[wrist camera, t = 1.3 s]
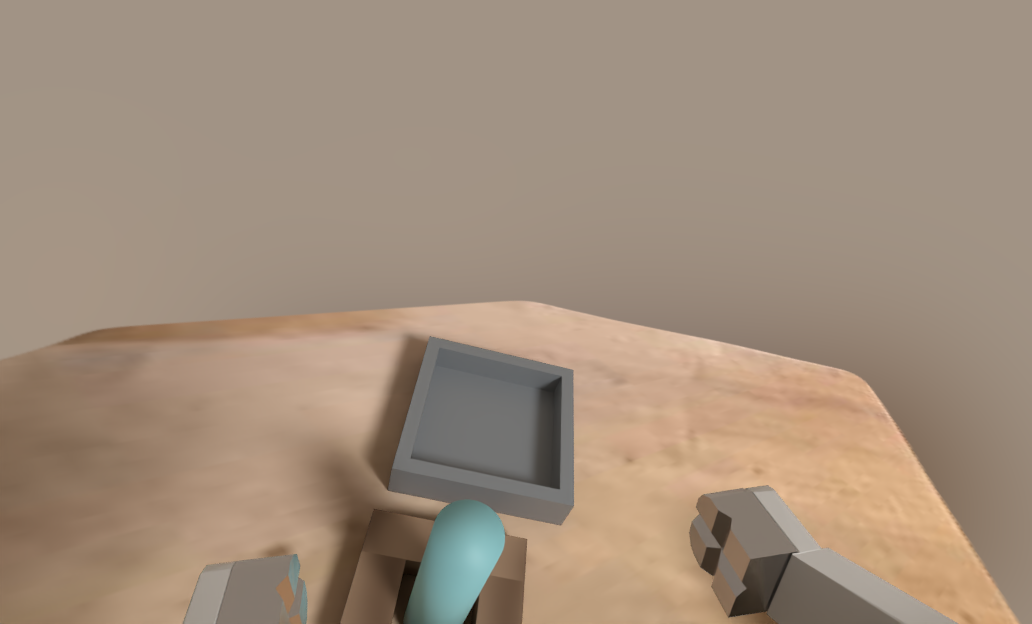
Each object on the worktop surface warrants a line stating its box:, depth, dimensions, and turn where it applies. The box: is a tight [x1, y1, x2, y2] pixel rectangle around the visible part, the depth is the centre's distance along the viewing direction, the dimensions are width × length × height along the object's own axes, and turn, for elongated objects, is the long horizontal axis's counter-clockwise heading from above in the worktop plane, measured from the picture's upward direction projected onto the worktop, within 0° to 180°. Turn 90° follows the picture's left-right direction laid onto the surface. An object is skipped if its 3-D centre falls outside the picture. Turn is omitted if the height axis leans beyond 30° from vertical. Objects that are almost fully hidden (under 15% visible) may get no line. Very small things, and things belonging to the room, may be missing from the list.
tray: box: [388, 336, 574, 525], centre depth 49 cm, size 15×15×4 cm
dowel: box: [403, 499, 505, 624], centre depth 33 cm, size 4×4×14 cm
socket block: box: [340, 509, 527, 624], centre depth 37 cm, size 12×12×2 cm
